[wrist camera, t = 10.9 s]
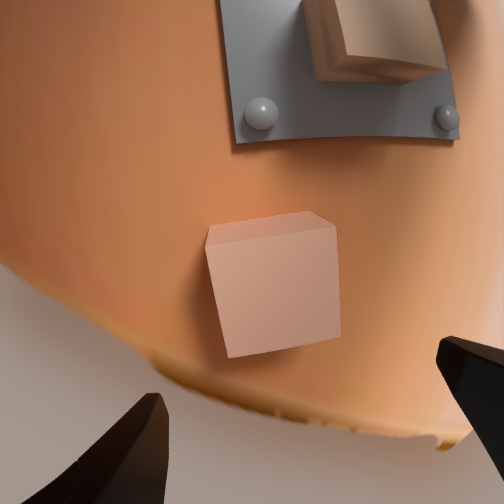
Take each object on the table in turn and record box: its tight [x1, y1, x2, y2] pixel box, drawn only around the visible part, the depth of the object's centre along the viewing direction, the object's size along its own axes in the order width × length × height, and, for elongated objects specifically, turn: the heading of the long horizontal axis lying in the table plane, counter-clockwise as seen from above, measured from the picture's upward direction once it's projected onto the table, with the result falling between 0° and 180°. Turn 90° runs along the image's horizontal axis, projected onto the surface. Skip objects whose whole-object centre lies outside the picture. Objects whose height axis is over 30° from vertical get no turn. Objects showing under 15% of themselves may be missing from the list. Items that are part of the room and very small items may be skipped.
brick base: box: [301, 0, 447, 86], centre depth 13 cm, size 6×6×5 cm
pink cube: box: [205, 211, 341, 358], centre depth 17 cm, size 6×6×5 cm
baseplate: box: [220, 0, 460, 144], centre depth 15 cm, size 16×13×1 cm
